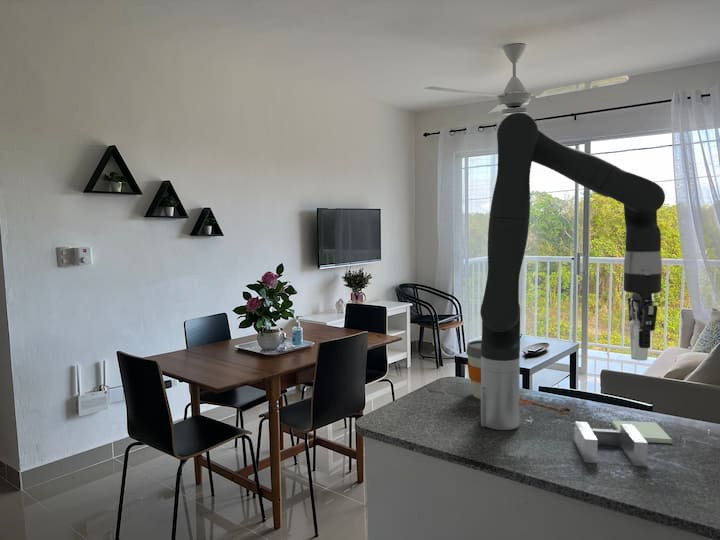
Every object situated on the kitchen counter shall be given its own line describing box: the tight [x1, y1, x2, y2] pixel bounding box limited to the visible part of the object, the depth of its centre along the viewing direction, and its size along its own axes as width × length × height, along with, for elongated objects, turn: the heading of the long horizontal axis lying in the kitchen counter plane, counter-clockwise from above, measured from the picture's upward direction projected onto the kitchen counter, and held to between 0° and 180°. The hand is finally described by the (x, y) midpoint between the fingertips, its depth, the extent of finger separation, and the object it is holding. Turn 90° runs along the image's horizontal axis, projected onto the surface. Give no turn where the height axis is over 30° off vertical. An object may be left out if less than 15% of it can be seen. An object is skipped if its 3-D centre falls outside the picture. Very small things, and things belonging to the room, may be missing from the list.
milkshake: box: [628, 320, 649, 361], centre depth 121 cm, size 5×5×10 cm
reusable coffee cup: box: [466, 339, 482, 400], centre depth 152 cm, size 13×13×15 cm
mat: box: [611, 419, 673, 444], centre depth 124 cm, size 10×10×1 cm
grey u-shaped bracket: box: [573, 421, 649, 468], centre depth 114 cm, size 12×12×5 cm
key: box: [519, 397, 573, 415], centre depth 142 cm, size 6×1×15 cm
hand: (641, 344), depth 121 cm, fingers closed on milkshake, 4 cm apart
